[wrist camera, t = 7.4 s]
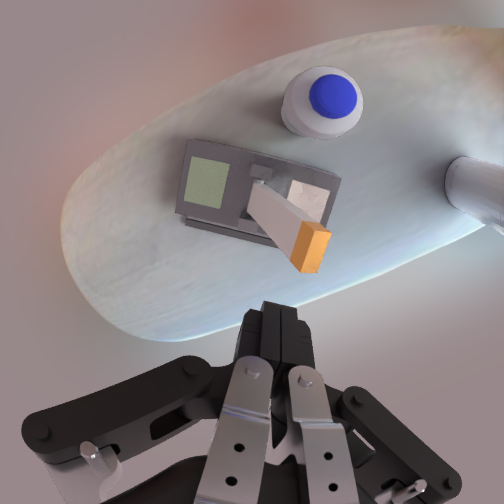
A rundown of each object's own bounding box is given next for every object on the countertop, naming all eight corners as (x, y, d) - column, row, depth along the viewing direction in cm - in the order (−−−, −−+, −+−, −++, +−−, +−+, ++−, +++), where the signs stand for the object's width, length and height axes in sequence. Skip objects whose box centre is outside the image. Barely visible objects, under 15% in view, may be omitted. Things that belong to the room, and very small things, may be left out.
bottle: (300, 147, 35) (331, 160, 17) (268, 110, 34) (267, 83, 15) (337, 120, 33) (401, 109, 15) (306, 82, 31) (341, 33, 13)
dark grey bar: (306, 240, 41) (307, 242, 40) (302, 252, 42) (302, 254, 41) (189, 210, 40) (187, 212, 39) (186, 223, 41) (185, 225, 40)
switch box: (334, 174, 36) (348, 182, 30) (313, 237, 41) (321, 258, 34) (196, 139, 36) (180, 140, 29) (183, 205, 40) (166, 219, 33)
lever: (263, 179, 33) (333, 228, 21) (255, 212, 35) (315, 277, 22) (251, 177, 32) (316, 225, 20) (243, 210, 34) (298, 276, 22)
